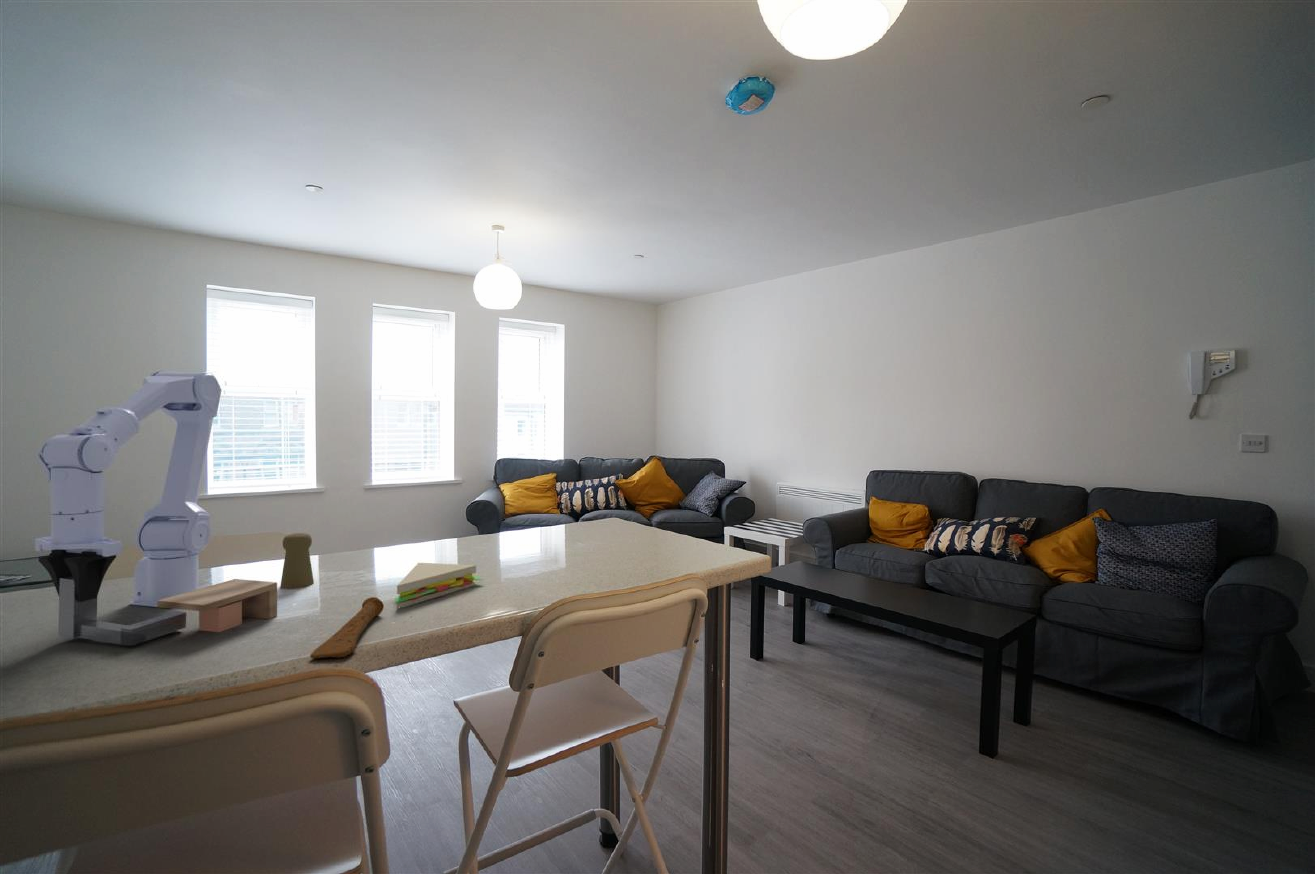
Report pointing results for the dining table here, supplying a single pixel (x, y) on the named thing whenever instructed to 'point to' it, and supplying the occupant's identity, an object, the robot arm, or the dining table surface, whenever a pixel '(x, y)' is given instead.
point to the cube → (221, 617)
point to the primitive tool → (349, 631)
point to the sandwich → (433, 582)
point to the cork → (297, 562)
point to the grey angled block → (84, 624)
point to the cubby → (229, 598)
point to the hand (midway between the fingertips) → (78, 599)
